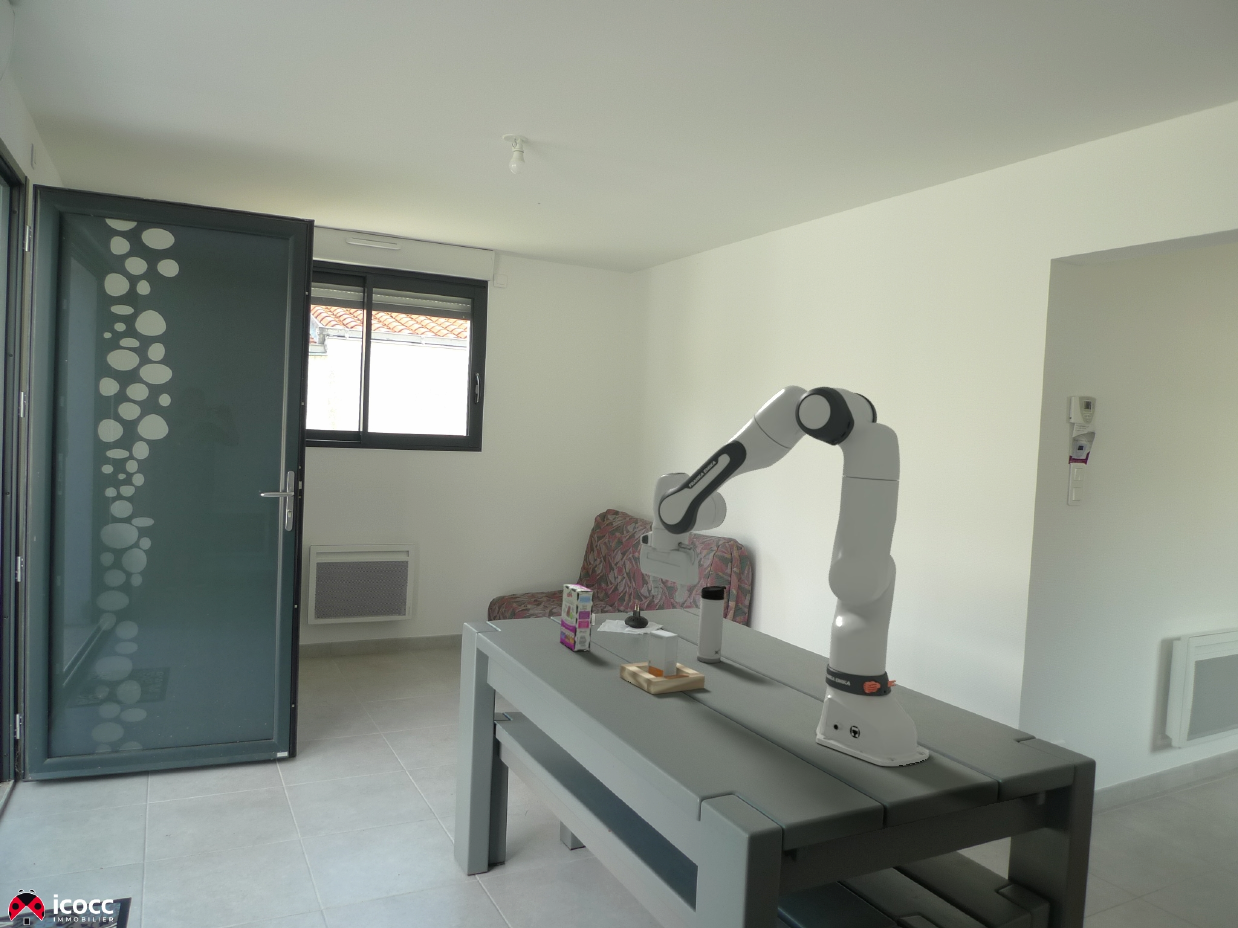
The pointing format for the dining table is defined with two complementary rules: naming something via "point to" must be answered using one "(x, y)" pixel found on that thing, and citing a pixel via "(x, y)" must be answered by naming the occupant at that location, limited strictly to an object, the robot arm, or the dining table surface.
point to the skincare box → (662, 653)
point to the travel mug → (711, 624)
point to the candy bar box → (576, 617)
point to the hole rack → (662, 678)
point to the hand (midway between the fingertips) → (667, 597)
